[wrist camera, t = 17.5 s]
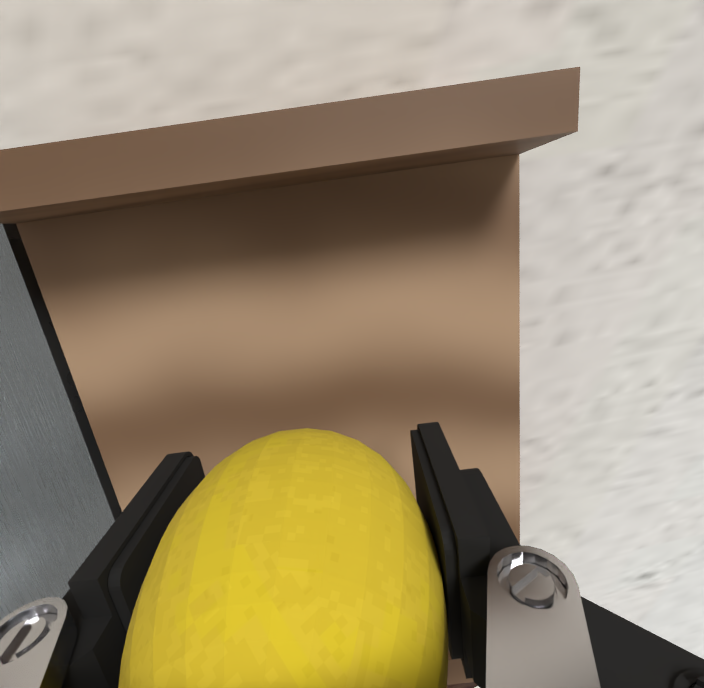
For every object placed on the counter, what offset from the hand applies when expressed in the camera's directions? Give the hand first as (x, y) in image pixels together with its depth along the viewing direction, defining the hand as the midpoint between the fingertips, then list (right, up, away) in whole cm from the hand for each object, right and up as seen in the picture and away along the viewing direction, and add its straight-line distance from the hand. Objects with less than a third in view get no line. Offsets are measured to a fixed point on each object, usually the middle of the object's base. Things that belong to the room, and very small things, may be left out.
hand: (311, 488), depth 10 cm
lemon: (0, 0, +1) cm, 1 cm away
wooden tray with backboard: (-1, +2, +6) cm, 6 cm away
